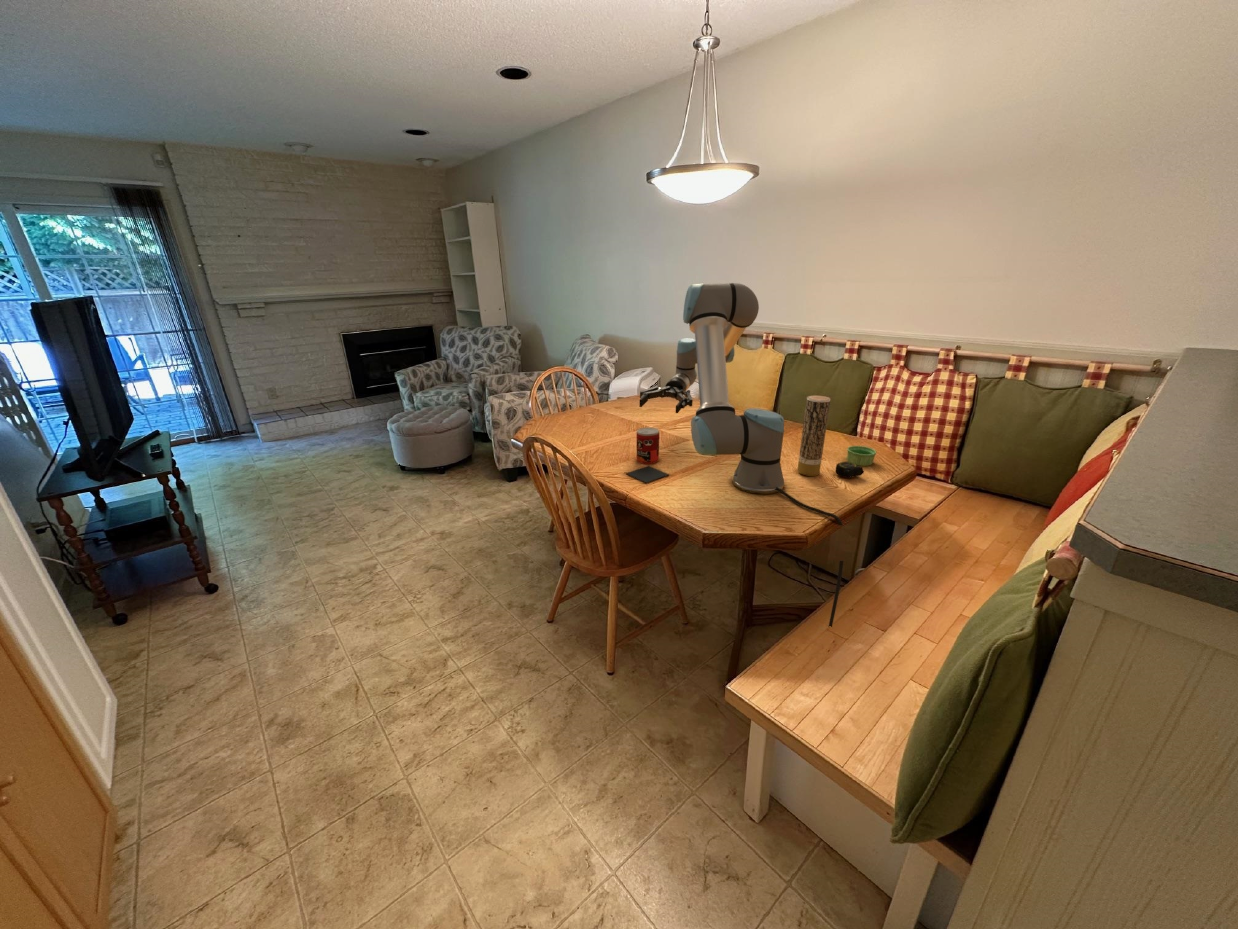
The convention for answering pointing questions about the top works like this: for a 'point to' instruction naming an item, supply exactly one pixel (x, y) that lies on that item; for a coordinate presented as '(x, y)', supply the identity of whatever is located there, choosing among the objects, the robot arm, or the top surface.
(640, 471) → the coaster
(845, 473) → the tape measure
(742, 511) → the top surface
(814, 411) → the paper tube
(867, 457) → the ramekin
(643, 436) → the canned food
